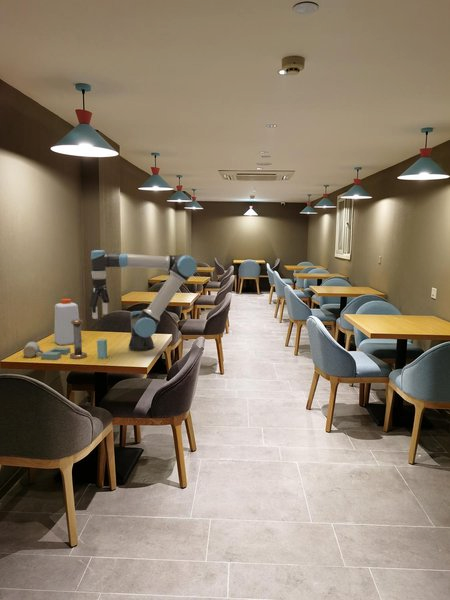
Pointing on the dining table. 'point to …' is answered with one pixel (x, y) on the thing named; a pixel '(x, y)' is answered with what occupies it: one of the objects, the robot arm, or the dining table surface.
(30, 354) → the ceramic mug
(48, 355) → the teal z-shaped block
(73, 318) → the plastic bottle
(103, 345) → the peg
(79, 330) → the bobbin
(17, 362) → the dining table surface
